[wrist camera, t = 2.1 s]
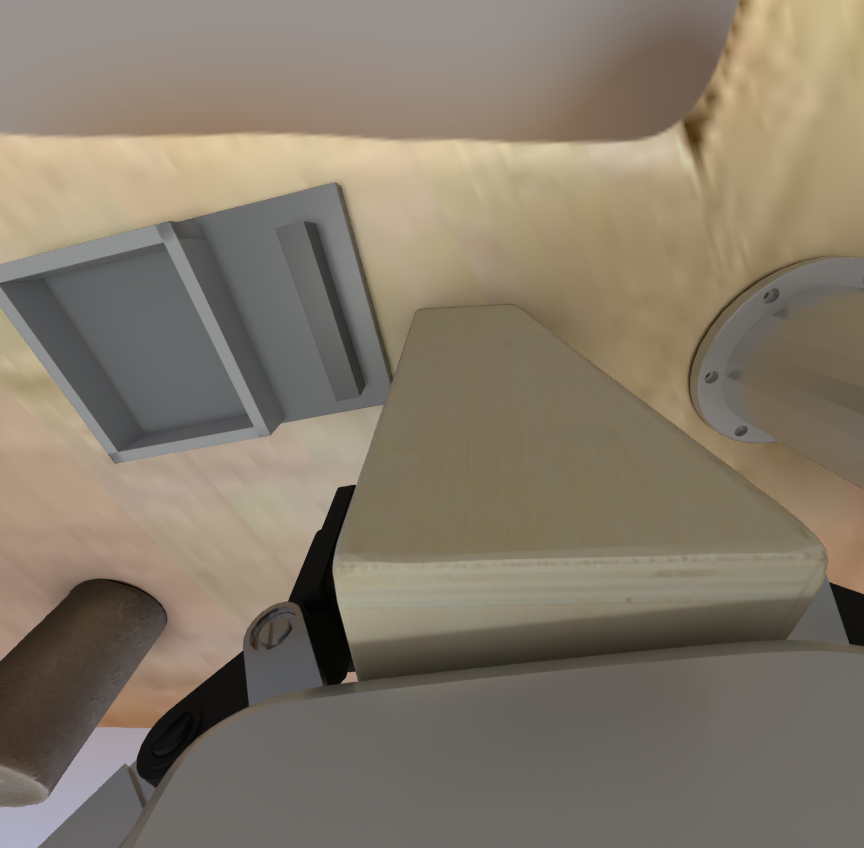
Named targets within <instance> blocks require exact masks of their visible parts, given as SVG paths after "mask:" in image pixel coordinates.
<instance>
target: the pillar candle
mask: <svg viewBox="0 0 864 848" xmlns="http://www.w3.org/2000/svg"><path fill="white" fill-rule="evenodd" d="M166 620H167V619H166V614H165V612H164V610H163V608H162V607H161V606H160V604H159V603H158V602H157V601H155V600H154V599H153V598H152V597H150V596H148V595H147V594H145V593H144V592H141V591H140V590H138V589H135V588H132V587H129V586H126V585H122V584H119V583H115V582H112V581H107V580H93V581H92V580H91V581H87V582H83V583H81V584H79V585H77V586H76V587H74V588H73V589H72V590H71V591H70V594H69V595H68V596H67V597H66V598H65V599H64V600H63V601H62V602H61V603H60V604H59V605H58V606H57V607H56V608H55V609H54V610H53V611H51V613H49V614H48V615H47V616H46V617H45V618H44V620H43V621H42V622H40V623H39V624H38V625H37V626H36V627H35V628H34V629H33V630H32V631H31V632H30V633H28V634H27V635H26V636H25V638H24V639H23V640H21V641H20V642H19V643H18V645H17V646H16V647H14V648H13V649H12V650H11V651H10V652H9V653H8V654H7V655H6V656H5V657H4V658H3V659H2V660H1V661H0V807H23V806H26V805H33V804H39V803H41V802H44V801H45V799H47V797H49V795H50V794H51V792H52V791H53V789H54V788H55V786H56V785H57V783H58V781H59V780H60V778H61V777H62V775H63V774H64V773H65V771H66V770H67V768H68V767H69V765H70V764H71V762H72V761H73V759H74V758H75V756H76V755H77V753H78V752H79V751H80V749H81V748H82V746H83V745H84V743H85V742H86V741H87V739H88V738H89V736H90V735H91V733H92V732H93V730H94V729H95V728H96V726H97V725H98V723H99V722H100V720H101V719H102V717H103V716H104V715H105V713H106V712H107V710H108V709H109V707H110V706H111V704H112V703H113V702H114V700H115V699H116V697H117V696H118V694H119V693H120V692H121V690H122V689H123V687H124V686H125V684H126V683H127V682H128V680H129V679H130V677H131V676H132V674H133V673H134V672H135V670H136V669H137V667H138V666H139V664H140V663H141V661H142V660H143V658H144V657H145V655H146V654H147V652H148V651H149V650H150V648H151V647H152V645H153V644H154V642H155V641H156V639H157V638H158V636H159V635H160V634H161V632H162V630H163V629H164V627H165V624H166Z"/></svg>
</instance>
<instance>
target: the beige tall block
mask: <svg viewBox="0 0 864 848" xmlns="http://www.w3.org/2000/svg"><path fill="white" fill-rule="evenodd" d="M827 565H828V556H827V551H826V548H825V547H824V546H823V544H822V543H821V542H820V540H819V539H818V538H817V536H816V535H815V534H814V533H813V532H812V531H811V530H810V529H809V528H808V527H806V526H805V525H804V524H803V523H802V522H801V521H800V520H799V519H798V518H796V517H795V516H794V515H793V514H791V513H790V512H789V511H788V510H786V509H785V508H784V507H783V506H781V505H780V504H779V503H778V502H776V501H775V500H774V499H773V498H771V497H770V496H768V495H767V494H766V493H764V492H763V491H761V490H760V489H759V488H757V487H756V486H755V485H754V484H752V483H751V482H750V481H749V480H747V479H746V478H745V477H744V476H742V475H741V474H740V473H738V472H737V471H736V470H734V469H733V468H732V467H730V466H729V465H728V464H726V463H725V462H724V461H722V460H721V459H720V458H718V457H717V456H716V455H714V454H713V453H711V452H710V451H709V450H707V449H706V448H705V447H703V446H702V445H701V444H699V443H698V442H696V441H695V440H694V439H692V438H691V437H690V436H689V435H687V434H686V433H685V432H684V431H683V430H681V429H680V428H678V427H677V426H676V425H674V424H673V423H672V422H670V421H669V420H668V419H666V418H665V417H664V416H662V415H661V414H660V413H658V412H657V411H656V410H654V409H653V408H652V407H650V406H649V405H648V404H646V403H645V402H644V401H642V400H641V399H640V398H638V397H637V396H636V395H634V394H633V393H632V392H630V391H629V390H628V389H626V388H625V387H624V386H622V385H621V384H620V383H618V382H617V381H616V380H614V379H613V378H612V377H610V376H609V375H608V374H606V373H605V372H603V371H602V370H601V369H599V368H598V367H597V366H595V365H594V364H593V363H591V362H590V361H589V360H587V359H586V358H584V357H583V356H582V355H580V354H579V353H578V352H577V351H575V350H574V349H573V348H571V347H570V346H569V345H568V344H566V343H565V342H564V341H562V340H561V339H560V338H559V337H557V336H556V335H555V334H553V333H552V332H551V331H549V330H548V329H547V328H545V327H544V326H543V325H541V324H540V323H539V322H538V321H536V320H535V319H534V318H532V317H531V316H530V315H528V314H527V313H526V312H524V311H523V310H522V309H520V308H519V307H518V306H516V305H513V304H509V305H490V306H469V307H451V308H433V309H419V310H417V311H416V313H415V315H414V318H413V321H412V324H411V327H410V330H409V333H408V336H407V339H406V342H405V345H404V348H403V351H402V354H401V357H400V360H399V363H398V366H397V369H396V372H395V375H394V378H393V381H392V383H391V386H390V389H389V392H388V395H387V398H386V401H385V404H384V407H383V409H382V412H381V415H380V418H379V420H378V423H377V426H376V429H375V432H374V435H373V438H372V442H371V445H370V448H369V451H368V453H367V456H366V459H365V462H364V464H363V467H362V470H361V473H360V476H359V479H358V482H357V485H356V488H355V491H354V494H353V497H352V500H351V503H350V506H349V508H348V511H347V514H346V517H345V520H344V523H343V526H342V529H341V532H340V535H339V538H338V541H337V545H336V550H335V554H334V559H333V570H332V571H333V578H334V584H335V590H336V597H337V602H338V606H339V610H340V614H341V618H342V621H343V625H344V629H345V633H346V637H347V640H348V644H349V648H350V652H351V656H352V659H353V663H354V667H355V671H356V674H357V678H358V682H359V681H366V680H374V679H383V678H392V677H401V676H410V675H419V674H428V673H437V672H446V671H455V670H464V669H473V668H483V667H492V666H501V665H511V664H520V663H530V662H539V661H549V660H559V659H568V658H578V657H588V656H598V655H608V654H618V653H628V652H638V651H648V650H658V649H668V648H678V647H689V646H701V645H713V644H725V643H737V642H750V641H772V640H787V638H788V637H789V635H790V634H791V632H792V631H793V629H794V628H795V626H796V624H797V623H798V621H799V620H800V618H801V617H802V615H803V614H804V612H805V611H806V609H807V608H808V606H809V605H810V603H811V601H812V600H813V598H814V597H815V595H816V593H817V592H818V590H819V589H820V587H821V585H822V584H823V582H824V578H825V574H826V569H827Z"/></svg>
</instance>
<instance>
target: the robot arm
mask: <svg viewBox="0 0 864 848" xmlns="http://www.w3.org/2000/svg"><path fill="white" fill-rule="evenodd" d="M690 394H691V397H692V401H693V405H694V408H695V409H696V411H697V413H698V414H699V416H700V418H701V419H702V420H703V421H704V422H706V423H707V424H708V425H709V426H710V427H711V428H713V429H714V430H716V431H718V432H719V433H720V434H722V435H724V436H726V437H728V438H730V439H733V440H736V441H742V442H747V443H771V442H777V441H780V442H781V443H783V444H785V445H787V446H788V447H790V448H792V449H793V450H795V451H797V452H799V453H800V454H802V455H804V456H805V457H807V458H809V459H811V460H812V461H814V462H816V463H818V464H819V465H821V466H823V467H824V468H826V469H828V470H830V471H831V472H833V473H835V474H836V475H838V476H840V477H842V478H843V479H845V480H847V481H849V482H850V483H852V484H854V485H855V486H857V487H859V488H861V489H862V490H864V258H858V257H845V256H844V257H821V258H816V259H811V260H806V261H802V262H799V263H796V264H794V265H791V266H788V267H786V268H783V269H781V270H779V271H777V272H775V273H773V274H771V275H770V276H768V277H766V278H764V279H762V280H761V281H759V282H758V283H756V284H755V285H754V286H752V287H751V288H750V289H748V290H747V291H745V292H744V293H743V294H741V295H740V296H739V297H738V298H737V299H736V300H735V301H734V302H733V303H732V304H731V305H730V306H729V307H728V308H727V309H726V310H724V312H723V313H722V314H721V315H720V317H719V318H718V319H717V320H716V322H715V323H714V324H713V325H712V327H711V328H710V329H709V331H708V333H707V334H706V336H705V338H704V340H703V341H702V343H701V345H700V347H699V349H698V352H697V354H696V357H695V360H694V362H693V367H692V372H691V377H690ZM355 488H356V485H350V486H344V487H339V488H338V489H337V491H336V494H335V496H334V499H333V501H332V504H331V507H330V509H329V512H328V514H327V517H326V519H325V522H324V524H323V527H322V529H321V530H319V531H318V532H317V533H316V535H315V537H314V539H313V542H312V544H311V546H310V549H309V551H308V554H307V556H306V559H305V561H304V564H303V566H302V568H301V571H300V573H299V576H298V578H297V581H296V583H295V586H294V588H293V590H292V593H291V595H290V598H289V600H288V602H281V603H277V604H275V605H273V606H270V607H269V608H267V609H266V610H264V611H263V612H261V613H260V614H259V615H258V616H257V617H256V618H255V619H254V620H253V622H252V623H251V625H250V626H249V627H248V629H247V631H246V634H245V636H244V641H243V651H242V652H241V653H239V654H238V655H237V656H236V657H235V658H233V659H232V660H231V661H230V662H228V663H227V664H226V665H225V666H223V667H222V668H221V669H220V670H218V671H217V672H216V673H215V674H213V675H212V676H211V677H210V678H208V679H207V680H206V681H205V682H204V683H202V684H201V685H200V686H199V687H197V688H196V689H195V690H194V691H192V692H191V693H190V694H189V695H187V696H186V697H185V698H184V699H182V700H181V701H180V702H179V703H177V704H176V705H175V706H174V707H173V708H171V709H170V710H169V711H168V712H167V713H166V714H165V715H164V716H162V717H161V718H160V719H159V720H158V721H157V723H156V724H155V725H154V726H153V728H152V729H151V730H150V731H149V733H148V735H147V736H146V738H145V740H144V742H143V743H142V745H141V748H140V751H139V753H138V756H137V760H136V761H135V762H134V763H133V764H132V765H131V766H130V767H129V766H127V765H126V764H124V765H123V766H122V767H121V768H120V769H119V770H118V771H116V773H114V774H113V775H112V777H110V778H109V779H108V780H107V781H106V782H105V783H104V784H103V785H102V786H101V787H100V788H99V789H98V790H97V791H96V792H95V793H94V794H93V795H92V796H91V797H90V798H88V800H87V801H86V802H84V803H83V804H82V805H81V806H80V807H79V808H78V809H77V810H76V811H75V812H74V813H73V814H72V815H71V816H70V817H69V818H68V819H67V820H66V821H65V822H64V823H63V824H62V825H61V826H59V827H58V828H57V829H56V830H55V831H54V832H53V833H52V834H51V836H49V837H48V838H47V839H46V840H45V841H44V842H43V843H42V844H41V845H40V846H39V847H38V848H864V594H861V593H859V592H856V591H853V590H850V589H847V588H844V587H841V586H839V585H836V584H833V583H830V582H829V581H828V578H827V575H826V574H825V578H824V582H823V584H822V585H821V587H820V589H819V590H818V592H817V593H816V595H815V597H814V598H813V600H812V601H811V603H810V605H809V606H808V608H807V609H806V611H805V612H804V614H803V615H802V617H801V618H800V620H799V621H798V623H797V624H796V626H795V628H794V629H793V631H792V632H791V634H790V635H789V637H788V638H787V640H772V641H750V642H737V643H725V644H713V645H701V646H689V647H678V648H668V649H658V650H648V651H638V652H628V653H618V654H608V655H598V656H588V657H578V658H568V659H559V660H549V661H539V662H530V663H520V664H511V665H501V666H492V667H483V668H473V669H464V670H455V671H446V672H437V673H428V674H419V675H410V676H401V677H392V678H383V679H374V680H366V681H359V682H351V683H343V684H342V681H343V680H344V679H345V678H346V676H347V672H355V667H354V663H353V659H352V656H351V652H350V648H349V644H348V640H347V637H346V633H345V629H344V625H343V621H342V618H341V614H340V610H339V606H338V602H337V597H336V590H335V584H334V578H333V571H332V570H333V559H334V554H335V550H336V545H337V541H338V538H339V535H340V532H341V529H342V526H343V523H344V520H345V517H346V514H347V511H348V508H349V506H350V503H351V500H352V497H353V494H354V491H355Z"/></svg>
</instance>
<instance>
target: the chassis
mask: <svg viewBox="0 0 864 848" xmlns="http://www.w3.org/2000/svg"><path fill="white" fill-rule="evenodd" d="M0 307H1V309H2V310H3V311H4V313H5V314H6V316H7V317H8V318H9V320H10V321H11V322H12V324H13V325H14V326H15V328H16V329H17V331H18V332H19V333H20V335H21V336H22V337H23V339H24V340H25V341H26V343H27V344H28V346H29V347H30V348H31V350H32V351H33V352H34V354H35V355H36V356H37V358H38V359H39V361H40V362H41V363H42V365H43V366H44V367H45V369H46V370H47V372H48V373H49V374H50V376H51V377H52V378H53V380H54V381H55V382H56V384H57V385H58V387H59V388H60V389H61V391H62V392H63V393H64V395H65V396H66V397H67V399H68V400H69V402H70V403H71V404H72V406H73V407H74V408H75V410H76V411H77V412H78V414H79V415H80V417H81V418H82V419H83V421H84V422H85V423H86V425H87V426H88V427H89V429H90V430H91V432H92V433H93V434H94V436H95V437H96V438H97V440H98V441H99V443H100V444H101V445H102V447H103V448H104V449H105V451H106V452H107V453H108V455H109V456H110V458H111V459H112V460H113V462H114V463H121V462H126V461H132V460H137V459H143V458H148V457H154V456H159V455H165V454H170V453H176V452H181V451H187V450H192V449H198V448H204V447H209V446H215V445H220V444H226V443H231V442H237V441H242V440H248V439H253V438H259V437H264V436H270V435H271V434H272V433H273V432H274V431H275V429H276V428H277V427H278V426H279V425H280V424H281V423H285V422H290V421H296V420H301V419H307V418H312V417H317V416H323V415H328V414H334V413H339V412H345V411H350V410H355V409H361V408H366V407H372V406H377V405H383V404H385V401H386V398H387V395H388V392H389V389H390V386H391V383H392V381H393V380H392V376H391V372H390V369H389V365H388V361H387V358H386V354H385V350H384V346H383V343H382V339H381V335H380V332H379V328H378V324H377V320H376V317H375V313H374V309H373V305H372V302H371V298H370V294H369V291H368V287H367V283H366V279H365V276H364V272H363V268H362V265H361V261H360V257H359V253H358V250H357V246H356V242H355V238H354V235H353V231H352V227H351V224H350V220H349V216H348V212H347V209H346V205H345V201H344V198H343V194H342V190H341V186H340V185H338V184H337V183H331V184H327V185H323V186H319V187H315V188H311V189H307V190H303V191H299V192H295V193H291V194H287V195H283V196H279V197H275V198H271V199H267V200H263V201H259V202H256V203H252V204H248V205H244V206H240V207H236V208H232V209H228V210H224V211H220V212H216V213H212V214H208V215H204V216H200V217H196V218H192V219H188V220H184V221H180V222H173V221H168V222H164V223H160V224H156V225H152V226H148V227H144V228H141V229H137V230H133V231H129V232H125V233H121V234H117V235H113V236H109V237H105V238H101V239H97V240H93V241H89V242H85V243H81V244H78V245H74V246H70V247H66V248H62V249H58V250H54V251H50V252H46V253H42V254H38V255H34V256H30V257H26V258H22V259H18V260H14V261H11V262H7V263H3V264H0Z"/></svg>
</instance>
